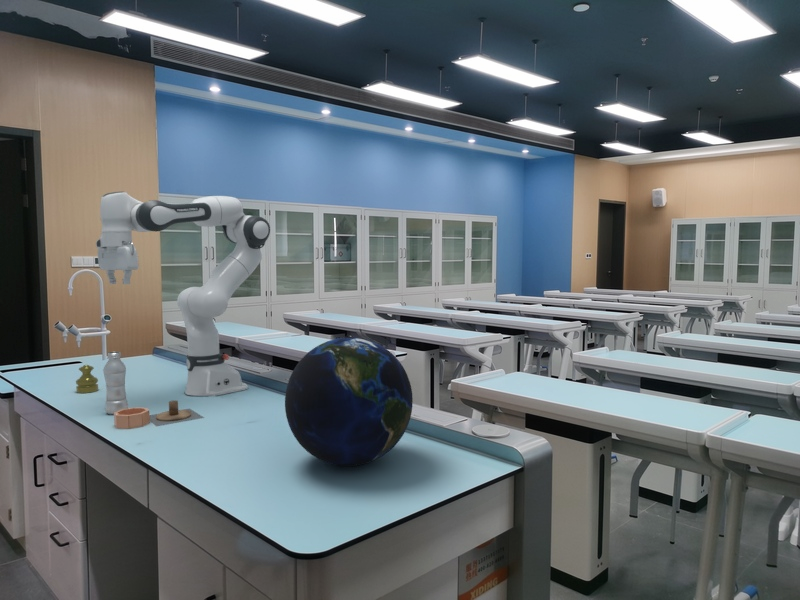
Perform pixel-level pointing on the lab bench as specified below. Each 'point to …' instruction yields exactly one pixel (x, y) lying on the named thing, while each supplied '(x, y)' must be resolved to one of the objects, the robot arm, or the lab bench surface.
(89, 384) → the gold chess piece
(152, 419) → the mat
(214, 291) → the robot arm
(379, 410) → the globe
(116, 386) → the plastic bottle
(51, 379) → the lab bench surface
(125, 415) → the bowl
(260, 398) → the lab bench surface
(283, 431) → the lab bench surface
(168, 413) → the lid
